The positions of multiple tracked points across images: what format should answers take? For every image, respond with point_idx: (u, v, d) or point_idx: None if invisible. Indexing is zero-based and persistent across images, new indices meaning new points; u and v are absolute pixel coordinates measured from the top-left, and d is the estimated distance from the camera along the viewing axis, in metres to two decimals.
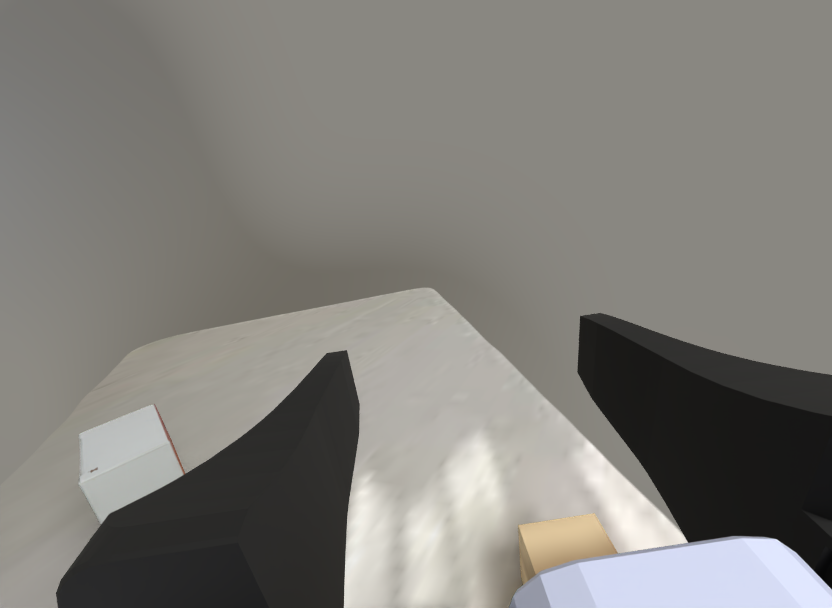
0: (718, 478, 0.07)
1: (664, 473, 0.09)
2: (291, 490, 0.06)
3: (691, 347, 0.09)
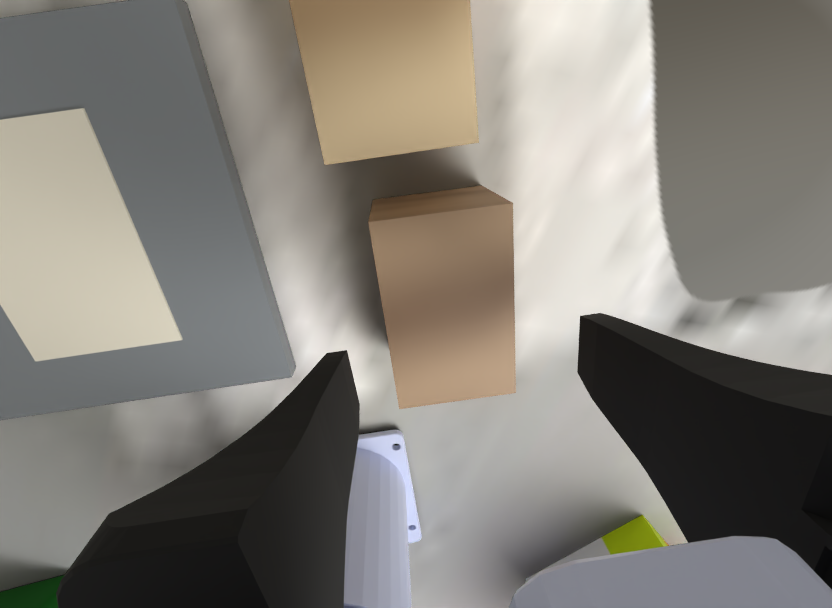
0: (718, 478, 0.07)
1: (664, 473, 0.09)
2: (291, 490, 0.06)
3: (691, 347, 0.09)
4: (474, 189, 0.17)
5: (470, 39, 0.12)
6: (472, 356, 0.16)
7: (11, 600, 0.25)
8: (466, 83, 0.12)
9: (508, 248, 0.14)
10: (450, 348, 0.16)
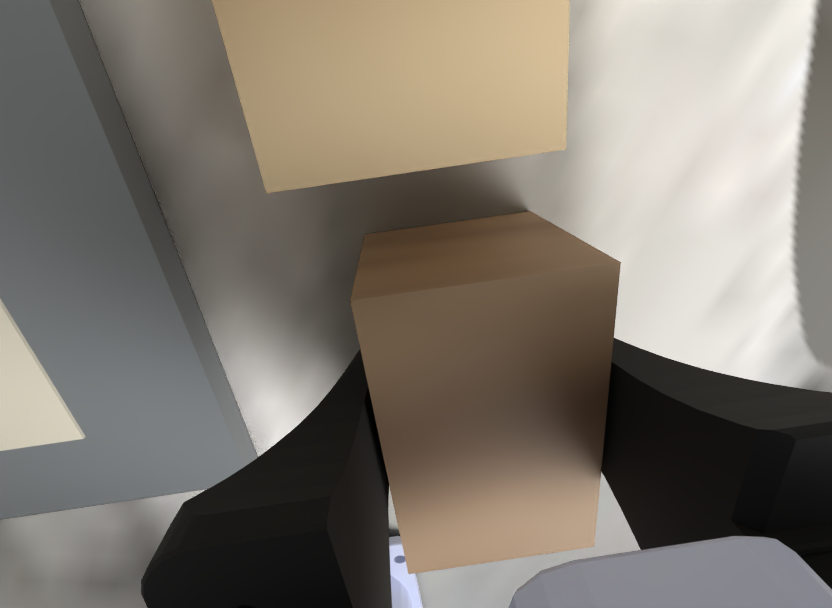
0: (663, 486, 0.07)
1: (619, 480, 0.09)
2: (354, 480, 0.06)
3: (645, 354, 0.09)
4: (524, 220, 0.11)
5: None
6: (529, 502, 0.10)
7: None
8: (551, 28, 0.06)
9: (604, 339, 0.08)
10: (492, 491, 0.09)
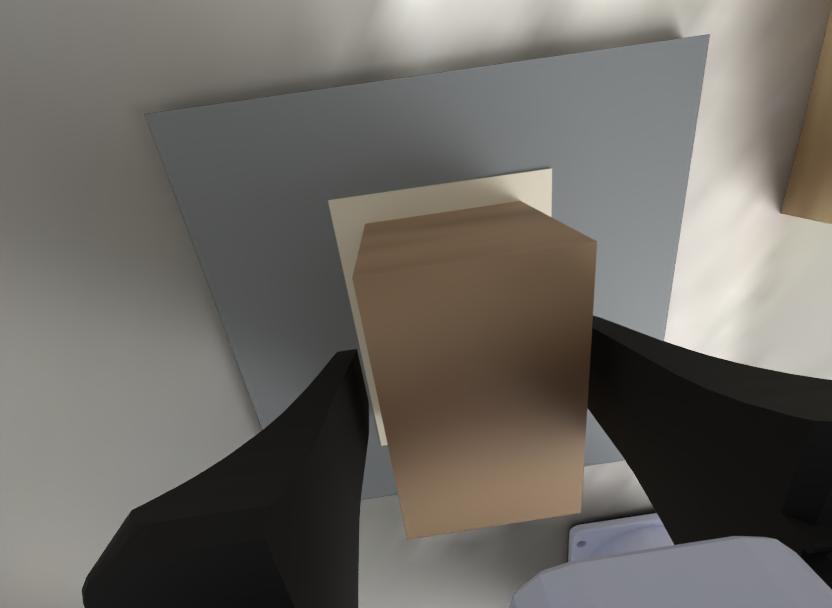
0: (702, 481, 0.07)
1: (651, 475, 0.09)
2: (310, 487, 0.06)
3: (677, 349, 0.09)
4: (514, 209, 0.12)
5: None
6: (519, 469, 0.10)
7: None
8: None
9: (584, 313, 0.09)
10: (485, 459, 0.10)
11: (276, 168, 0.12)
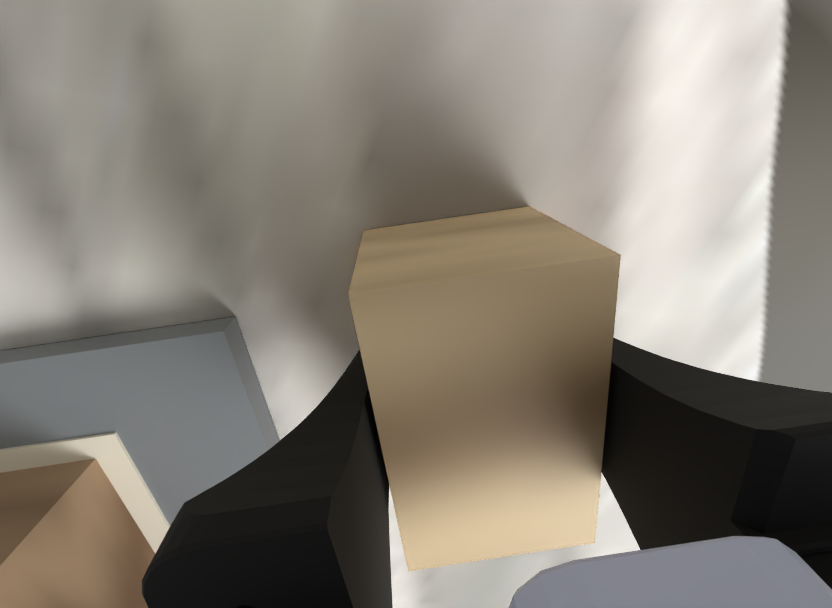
0: (663, 486, 0.07)
1: (619, 480, 0.09)
2: (354, 481, 0.06)
3: (644, 354, 0.09)
4: (56, 486, 0.12)
5: (599, 463, 0.09)
6: None
7: None
8: (588, 498, 0.10)
9: None
10: None
11: None
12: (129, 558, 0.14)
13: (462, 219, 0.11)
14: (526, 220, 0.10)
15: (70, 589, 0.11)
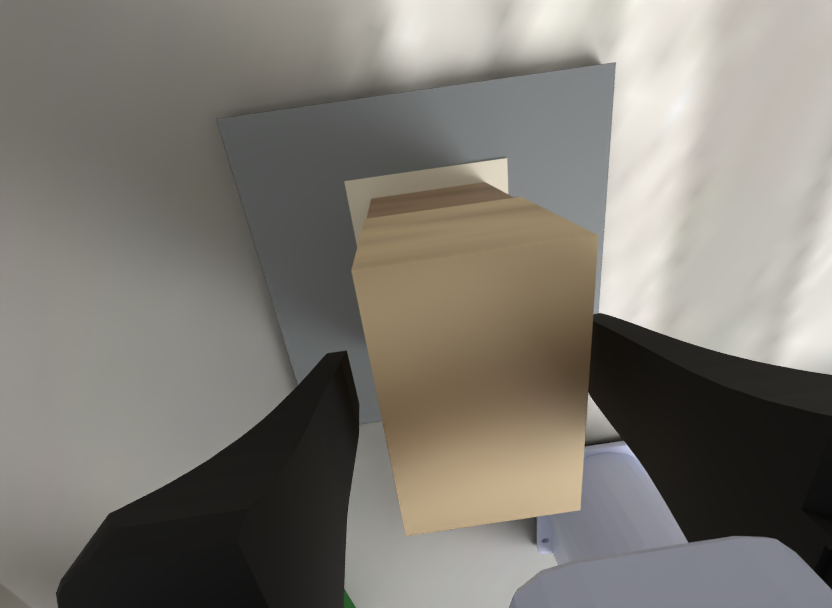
0: (718, 478, 0.07)
1: (664, 473, 0.09)
2: (291, 490, 0.06)
3: (691, 347, 0.09)
4: (478, 186, 0.16)
5: (582, 432, 0.10)
6: None
7: None
8: (573, 466, 0.10)
9: None
10: None
11: (307, 157, 0.16)
12: None
13: (457, 208, 0.12)
14: (516, 208, 0.11)
15: None
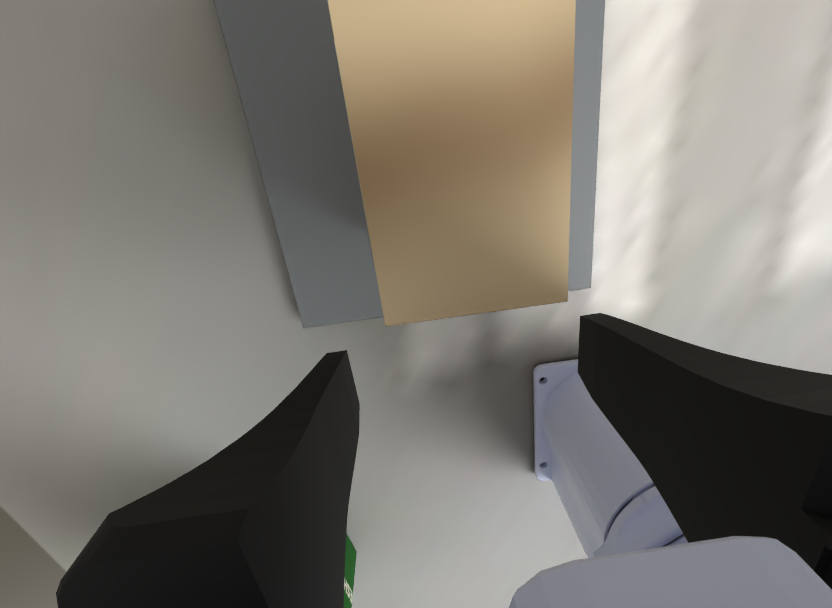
0: (718, 478, 0.07)
1: (664, 473, 0.09)
2: (291, 490, 0.06)
3: (691, 347, 0.09)
4: None
5: (567, 195, 0.10)
6: None
7: None
8: (558, 241, 0.10)
9: None
10: None
11: (296, 12, 0.16)
12: None
13: None
14: None
15: None
